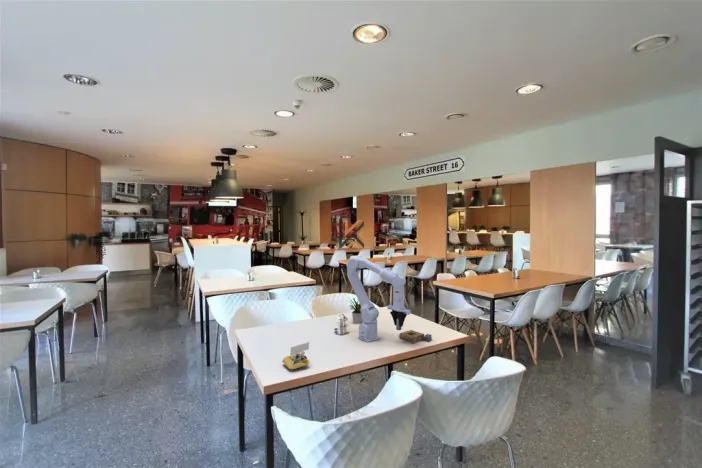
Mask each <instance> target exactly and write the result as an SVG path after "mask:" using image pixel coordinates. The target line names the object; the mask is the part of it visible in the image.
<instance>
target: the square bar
mask: <svg viewBox="0 0 702 468" xmlns="http://www.w3.org/2000/svg"><path fill="white" fill-rule="evenodd" d="M432 340H433V339H432V334H429V333H426V334H424V337H423V340H422V342H425V343H429V342H431V341H432Z"/></svg>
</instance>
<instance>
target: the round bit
mask: <svg viewBox="0 0 702 468" xmlns="http://www.w3.org/2000/svg"><path fill="white" fill-rule="evenodd" d="M395 329H396V331H402V327H399V320H398V316H397V317H396V326H395Z"/></svg>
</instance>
